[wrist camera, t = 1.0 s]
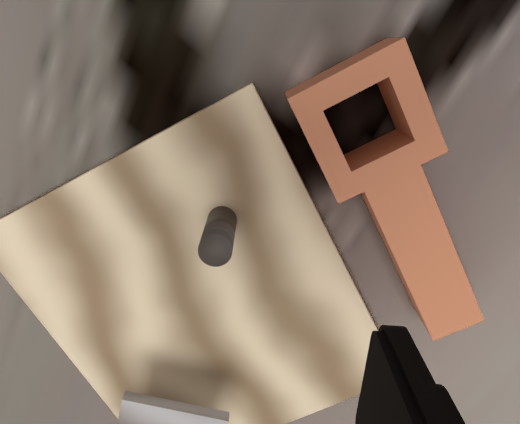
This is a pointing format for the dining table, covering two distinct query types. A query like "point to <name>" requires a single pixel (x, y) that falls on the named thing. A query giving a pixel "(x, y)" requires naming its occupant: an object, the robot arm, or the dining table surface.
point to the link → (393, 177)
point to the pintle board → (195, 277)
